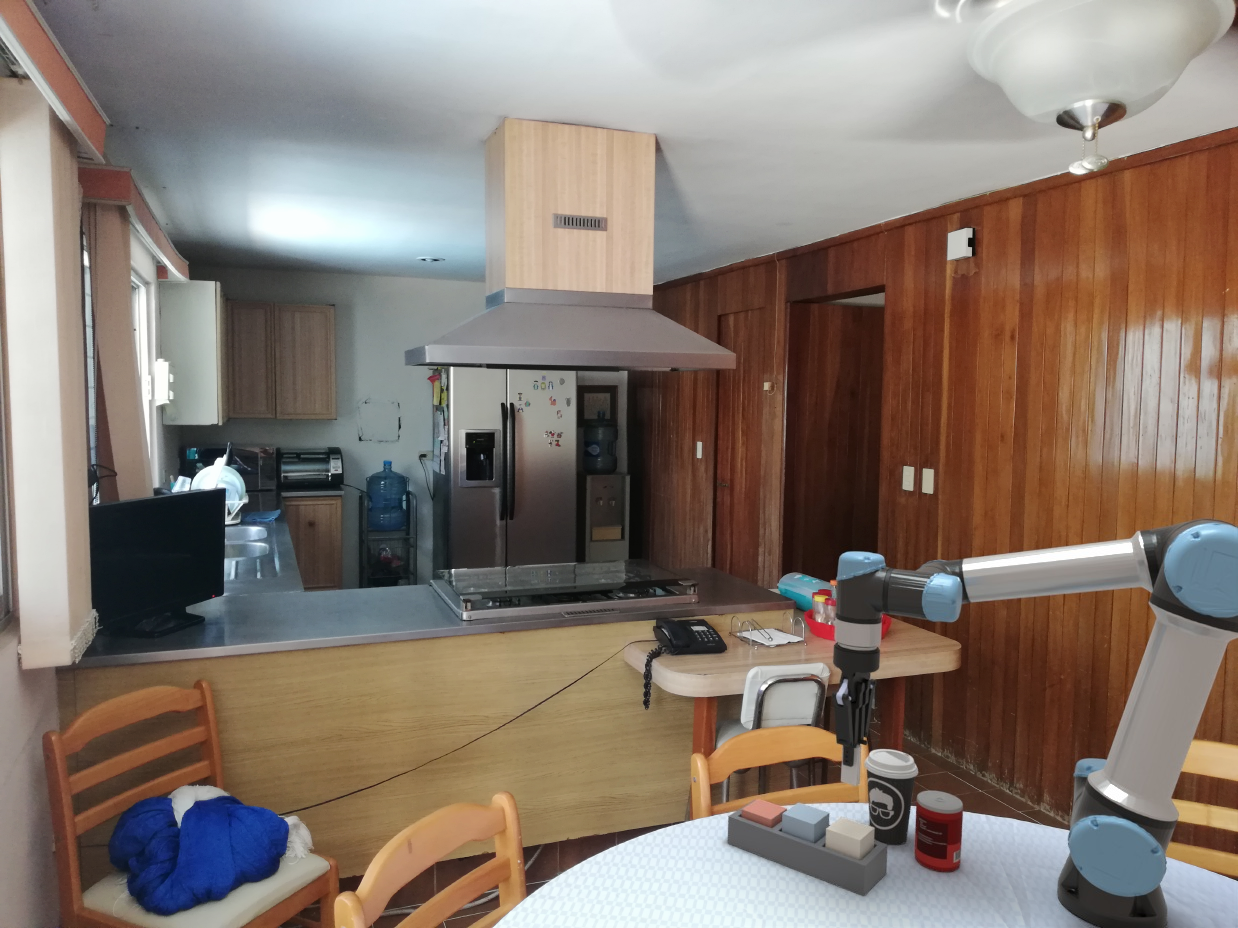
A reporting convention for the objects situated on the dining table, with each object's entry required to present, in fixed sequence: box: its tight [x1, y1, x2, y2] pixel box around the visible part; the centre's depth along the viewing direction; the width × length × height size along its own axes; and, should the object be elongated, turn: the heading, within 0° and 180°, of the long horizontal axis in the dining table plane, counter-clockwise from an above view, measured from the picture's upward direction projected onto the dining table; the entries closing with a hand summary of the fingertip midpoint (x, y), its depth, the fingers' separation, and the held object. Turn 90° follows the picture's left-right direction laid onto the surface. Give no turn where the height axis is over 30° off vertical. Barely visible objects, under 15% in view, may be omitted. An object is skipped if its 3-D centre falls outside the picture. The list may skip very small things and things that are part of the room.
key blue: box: [782, 802, 830, 844], centre depth 146 cm, size 6×6×4 cm
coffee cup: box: [863, 748, 919, 846], centre depth 155 cm, size 10×10×15 cm
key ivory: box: [825, 816, 875, 860], centre depth 141 cm, size 6×6×4 cm
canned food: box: [914, 790, 964, 873], centre depth 147 cm, size 8×8×11 cm
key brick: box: [741, 798, 788, 828], centre depth 152 cm, size 6×6×4 cm
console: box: [726, 799, 888, 897], centre depth 146 cm, size 26×9×5 cm, turn 51°
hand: (850, 782), depth 141 cm, fingers closed
